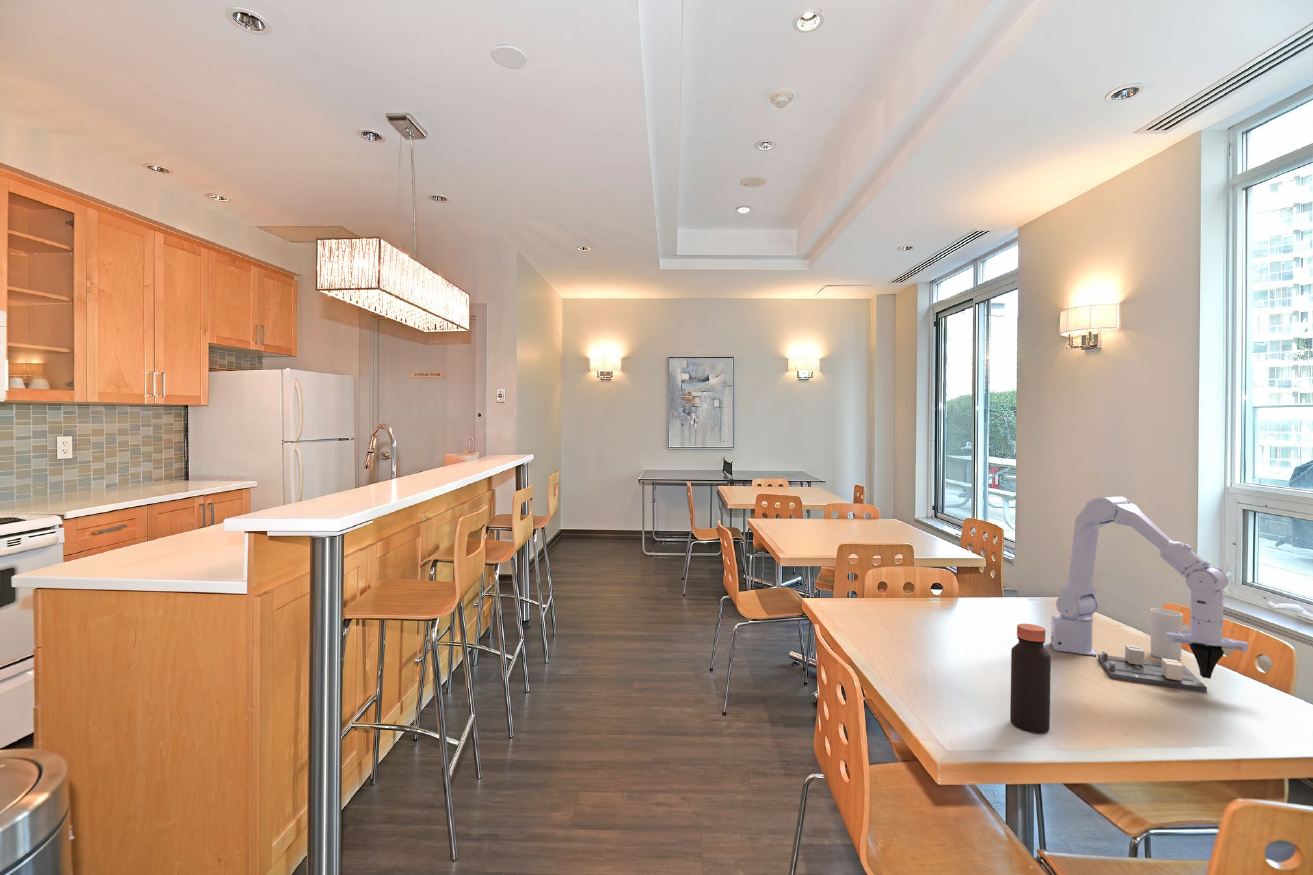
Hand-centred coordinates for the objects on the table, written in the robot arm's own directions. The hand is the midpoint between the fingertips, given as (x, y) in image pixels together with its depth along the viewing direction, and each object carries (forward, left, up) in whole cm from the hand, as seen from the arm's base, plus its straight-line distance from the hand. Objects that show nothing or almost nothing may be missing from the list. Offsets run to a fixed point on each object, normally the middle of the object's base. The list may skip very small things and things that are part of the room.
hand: (1205, 676), depth 144 cm
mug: (-2, +24, -3) cm, 24 cm away
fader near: (-6, 0, -1) cm, 6 cm away
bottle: (-40, -42, -3) cm, 58 cm away
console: (-10, +4, -3) cm, 11 cm away
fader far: (-12, +8, -1) cm, 14 cm away
